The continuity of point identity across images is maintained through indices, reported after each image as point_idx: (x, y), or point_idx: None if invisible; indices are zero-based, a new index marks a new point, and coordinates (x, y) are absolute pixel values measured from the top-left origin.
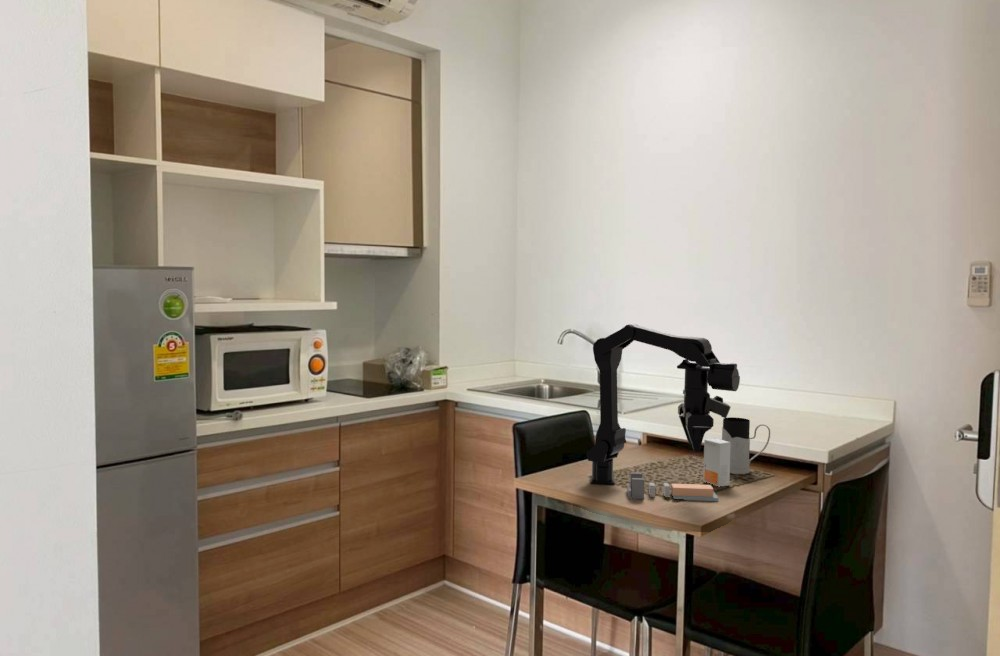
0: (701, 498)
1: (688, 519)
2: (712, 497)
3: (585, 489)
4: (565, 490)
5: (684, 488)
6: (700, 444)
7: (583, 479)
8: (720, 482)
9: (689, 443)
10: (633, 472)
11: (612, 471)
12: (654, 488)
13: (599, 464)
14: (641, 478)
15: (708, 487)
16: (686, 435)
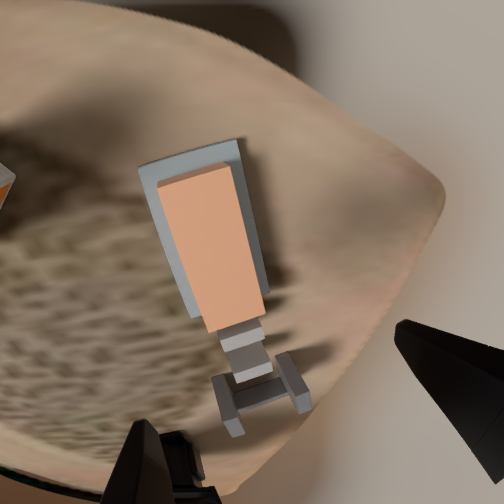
0: (249, 202)
1: (426, 213)
2: (234, 163)
3: (245, 445)
4: (266, 456)
5: (256, 278)
6: (457, 339)
7: None
8: (3, 173)
9: (158, 436)
10: (231, 433)
11: (165, 459)
12: (268, 356)
13: (200, 485)
14: (297, 400)
15: (208, 190)
16: (172, 497)
